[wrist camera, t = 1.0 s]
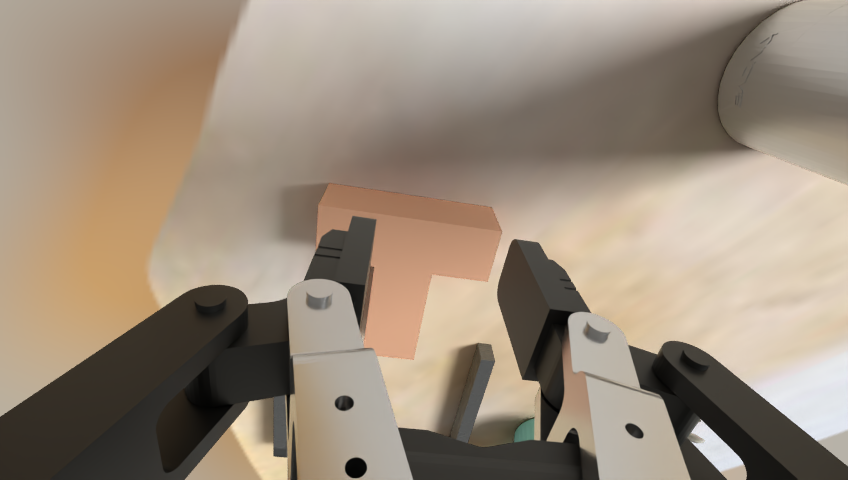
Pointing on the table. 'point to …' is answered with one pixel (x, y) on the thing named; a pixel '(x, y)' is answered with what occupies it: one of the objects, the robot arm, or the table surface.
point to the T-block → (410, 254)
